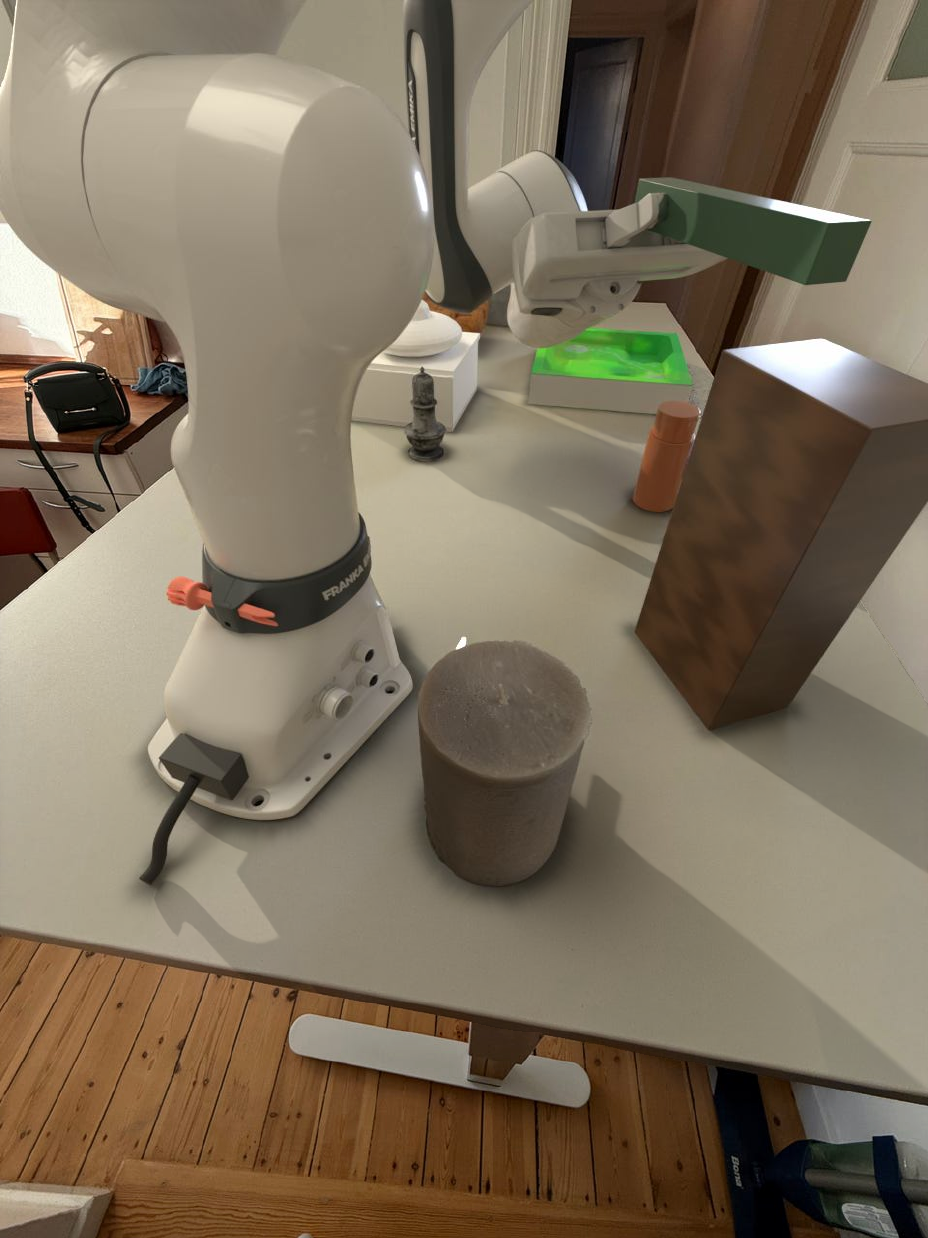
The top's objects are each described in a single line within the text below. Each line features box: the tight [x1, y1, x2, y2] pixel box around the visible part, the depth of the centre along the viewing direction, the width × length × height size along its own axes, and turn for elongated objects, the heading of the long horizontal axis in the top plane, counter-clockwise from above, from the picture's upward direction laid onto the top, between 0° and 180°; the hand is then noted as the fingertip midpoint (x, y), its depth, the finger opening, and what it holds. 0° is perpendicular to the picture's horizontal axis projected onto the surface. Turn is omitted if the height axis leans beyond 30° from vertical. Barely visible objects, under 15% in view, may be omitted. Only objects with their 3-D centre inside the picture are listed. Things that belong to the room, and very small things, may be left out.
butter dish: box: [351, 300, 481, 433], centre depth 87 cm, size 18×18×16 cm
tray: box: [528, 327, 693, 415], centre depth 98 cm, size 25×25×5 cm
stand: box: [634, 338, 928, 731], centre depth 42 cm, size 12×8×26 cm, turn 18°
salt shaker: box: [403, 367, 447, 463], centre depth 75 cm, size 6×6×12 cm
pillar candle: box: [417, 639, 593, 887], centre depth 35 cm, size 10×10×15 cm
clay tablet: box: [422, 293, 489, 336], centre depth 111 cm, size 22×17×8 cm
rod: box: [634, 176, 873, 286], centre depth 38 cm, size 20×3×3 cm, turn 18°
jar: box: [632, 401, 702, 513], centre depth 67 cm, size 5×5×12 cm
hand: (685, 202), depth 42 cm, fingers closed on rod, 3 cm apart
